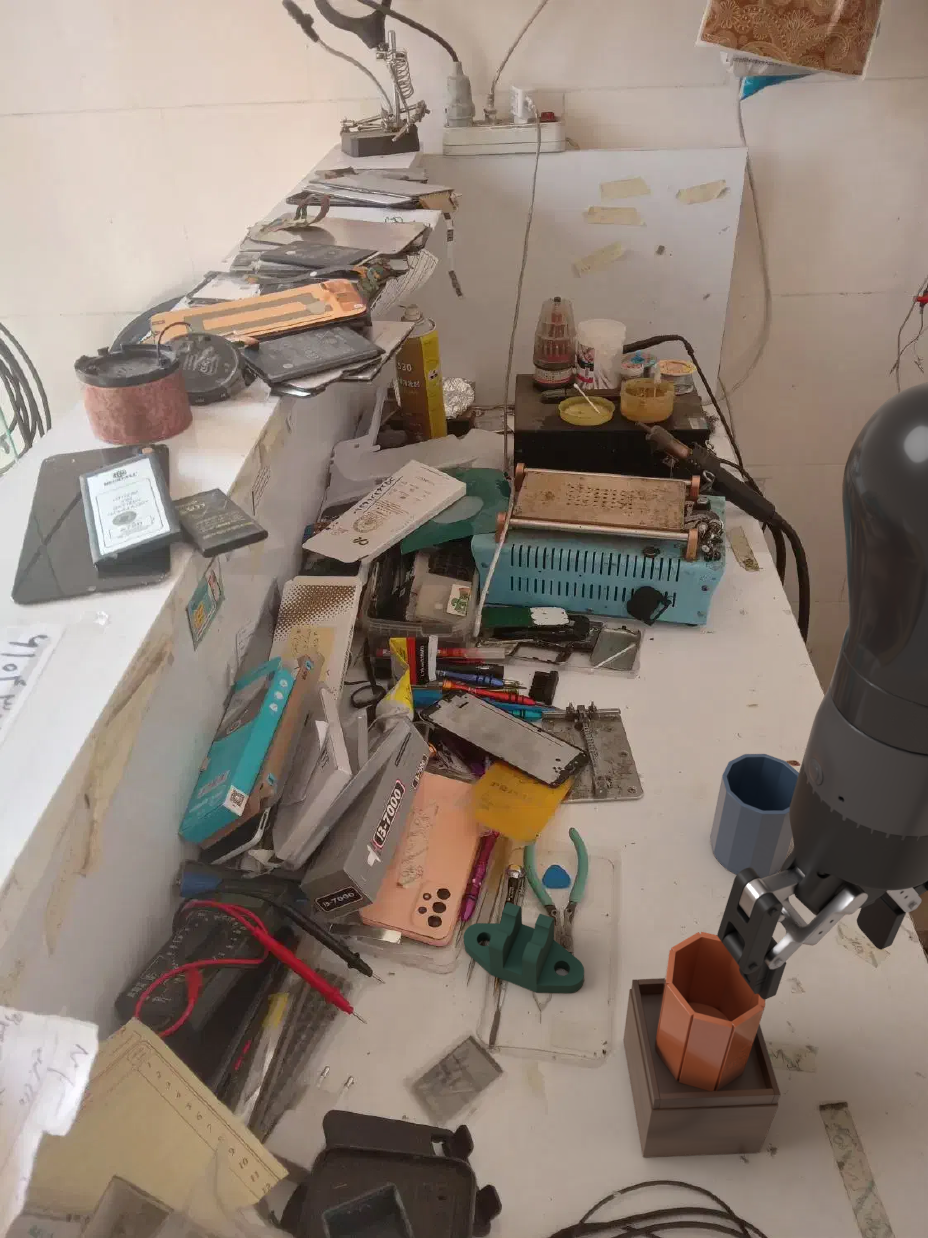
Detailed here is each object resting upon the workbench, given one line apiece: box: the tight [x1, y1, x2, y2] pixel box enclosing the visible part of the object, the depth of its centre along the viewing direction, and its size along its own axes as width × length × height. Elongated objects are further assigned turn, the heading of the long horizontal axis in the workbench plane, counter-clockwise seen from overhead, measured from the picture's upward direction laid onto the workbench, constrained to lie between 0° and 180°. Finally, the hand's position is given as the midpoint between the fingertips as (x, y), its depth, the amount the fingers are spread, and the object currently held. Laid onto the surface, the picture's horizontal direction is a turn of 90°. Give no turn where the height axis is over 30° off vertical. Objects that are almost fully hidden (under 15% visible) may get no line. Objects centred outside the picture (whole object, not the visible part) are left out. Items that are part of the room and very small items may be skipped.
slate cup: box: [709, 753, 799, 879], centre depth 77 cm, size 7×7×10 cm
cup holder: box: [623, 977, 781, 1158], centre depth 60 cm, size 8×8×10 cm
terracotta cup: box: [655, 931, 766, 1091], centre depth 55 cm, size 6×6×9 cm
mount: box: [463, 901, 585, 994], centre depth 70 cm, size 11×4×5 cm, turn 66°
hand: (816, 959), depth 50 cm, fingers open, 8 cm apart
